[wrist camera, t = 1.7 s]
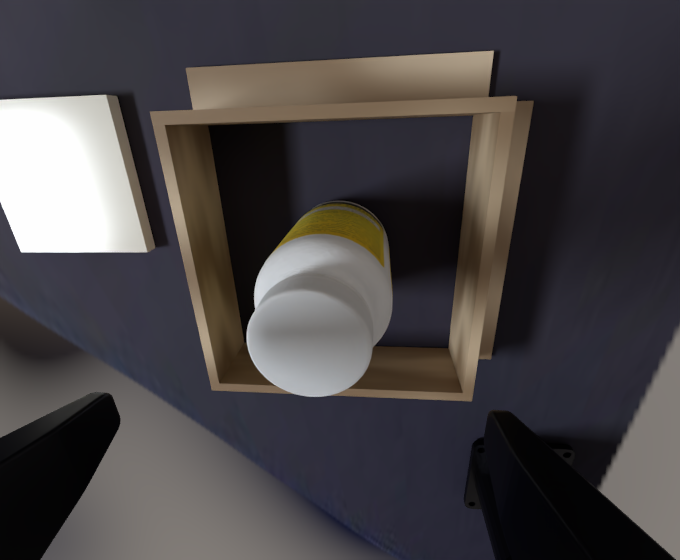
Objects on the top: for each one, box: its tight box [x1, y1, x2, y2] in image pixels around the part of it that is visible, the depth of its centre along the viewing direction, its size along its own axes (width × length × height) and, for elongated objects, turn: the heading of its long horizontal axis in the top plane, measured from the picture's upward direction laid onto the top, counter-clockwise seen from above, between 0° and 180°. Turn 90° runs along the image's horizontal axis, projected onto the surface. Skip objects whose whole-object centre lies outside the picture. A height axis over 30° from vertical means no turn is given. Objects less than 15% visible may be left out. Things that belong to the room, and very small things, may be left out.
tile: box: [0, 95, 155, 252], centre depth 19 cm, size 8×8×1 cm
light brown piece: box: [150, 51, 534, 401], centre depth 18 cm, size 18×18×4 cm
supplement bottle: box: [247, 201, 393, 397], centre depth 15 cm, size 5×5×10 cm
